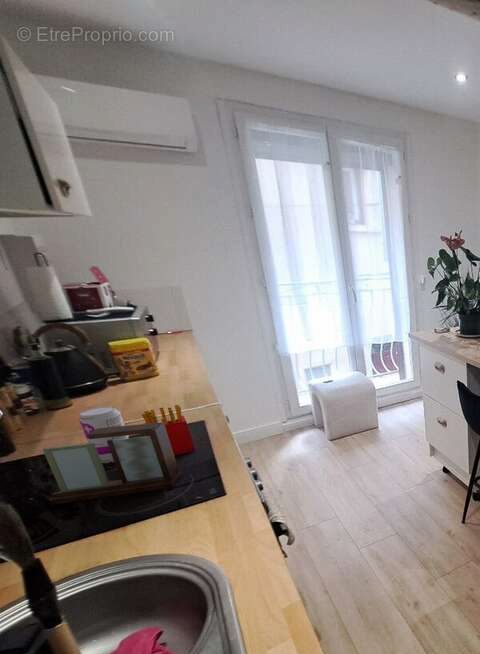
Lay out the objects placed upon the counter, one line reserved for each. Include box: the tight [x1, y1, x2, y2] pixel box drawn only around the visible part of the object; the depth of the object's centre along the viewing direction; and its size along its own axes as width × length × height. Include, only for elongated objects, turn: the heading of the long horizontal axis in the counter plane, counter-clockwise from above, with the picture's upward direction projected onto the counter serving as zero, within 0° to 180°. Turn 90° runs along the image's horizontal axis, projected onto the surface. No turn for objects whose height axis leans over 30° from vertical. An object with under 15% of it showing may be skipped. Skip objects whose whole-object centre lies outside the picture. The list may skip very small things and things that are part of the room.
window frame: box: [49, 422, 182, 506], centre depth 103 cm, size 24×6×17 cm, turn 111°
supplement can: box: [78, 406, 130, 464], centre depth 119 cm, size 8×8×15 cm
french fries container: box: [141, 404, 196, 457], centre depth 123 cm, size 7×9×14 cm
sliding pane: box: [42, 442, 110, 492], centre depth 100 cm, size 9×1×12 cm, turn 111°
